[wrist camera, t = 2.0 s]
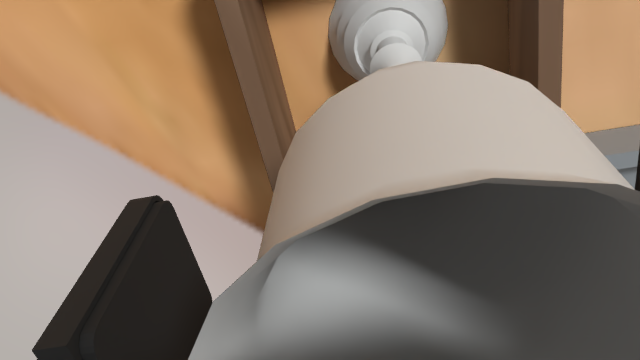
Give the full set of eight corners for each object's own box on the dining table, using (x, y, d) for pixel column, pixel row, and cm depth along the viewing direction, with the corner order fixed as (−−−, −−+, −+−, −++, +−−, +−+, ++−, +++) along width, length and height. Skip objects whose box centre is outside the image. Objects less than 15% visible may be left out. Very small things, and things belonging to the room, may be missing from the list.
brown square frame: (526, -164, 18) (568, -172, 15) (529, 128, 24) (558, 171, 20) (217, -87, 20) (189, -79, 16) (289, 168, 25) (279, 213, 22)
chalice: (478, -67, 20) (942, 147, 4) (471, 97, 23) (713, 544, 8) (292, -45, 20) (110, 203, 5) (312, 111, 24) (242, 542, 8)
